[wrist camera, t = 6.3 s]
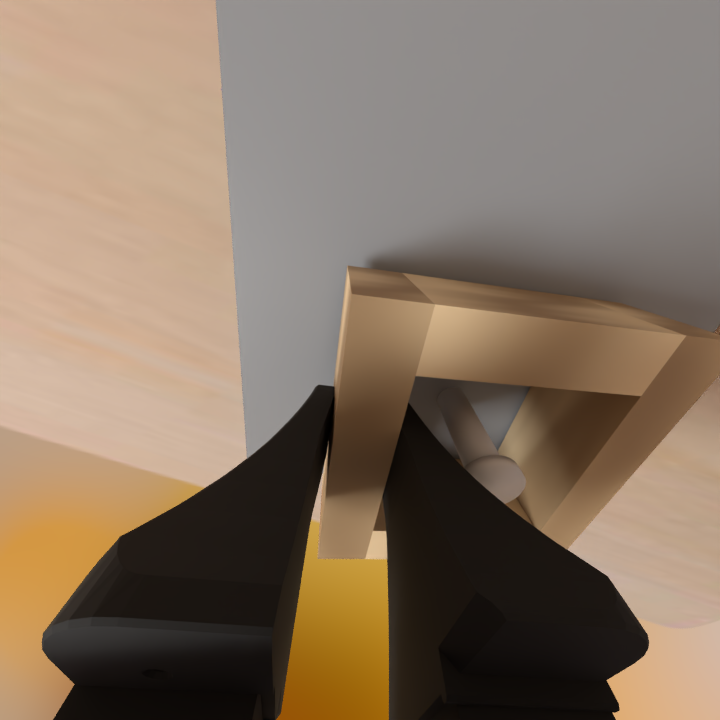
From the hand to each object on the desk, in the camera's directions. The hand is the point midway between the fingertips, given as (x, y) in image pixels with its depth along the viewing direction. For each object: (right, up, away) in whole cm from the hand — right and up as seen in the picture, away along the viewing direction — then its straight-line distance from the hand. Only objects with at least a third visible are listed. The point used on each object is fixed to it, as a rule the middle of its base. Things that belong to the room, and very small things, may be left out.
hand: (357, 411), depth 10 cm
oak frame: (+4, 0, +1) cm, 4 cm away
